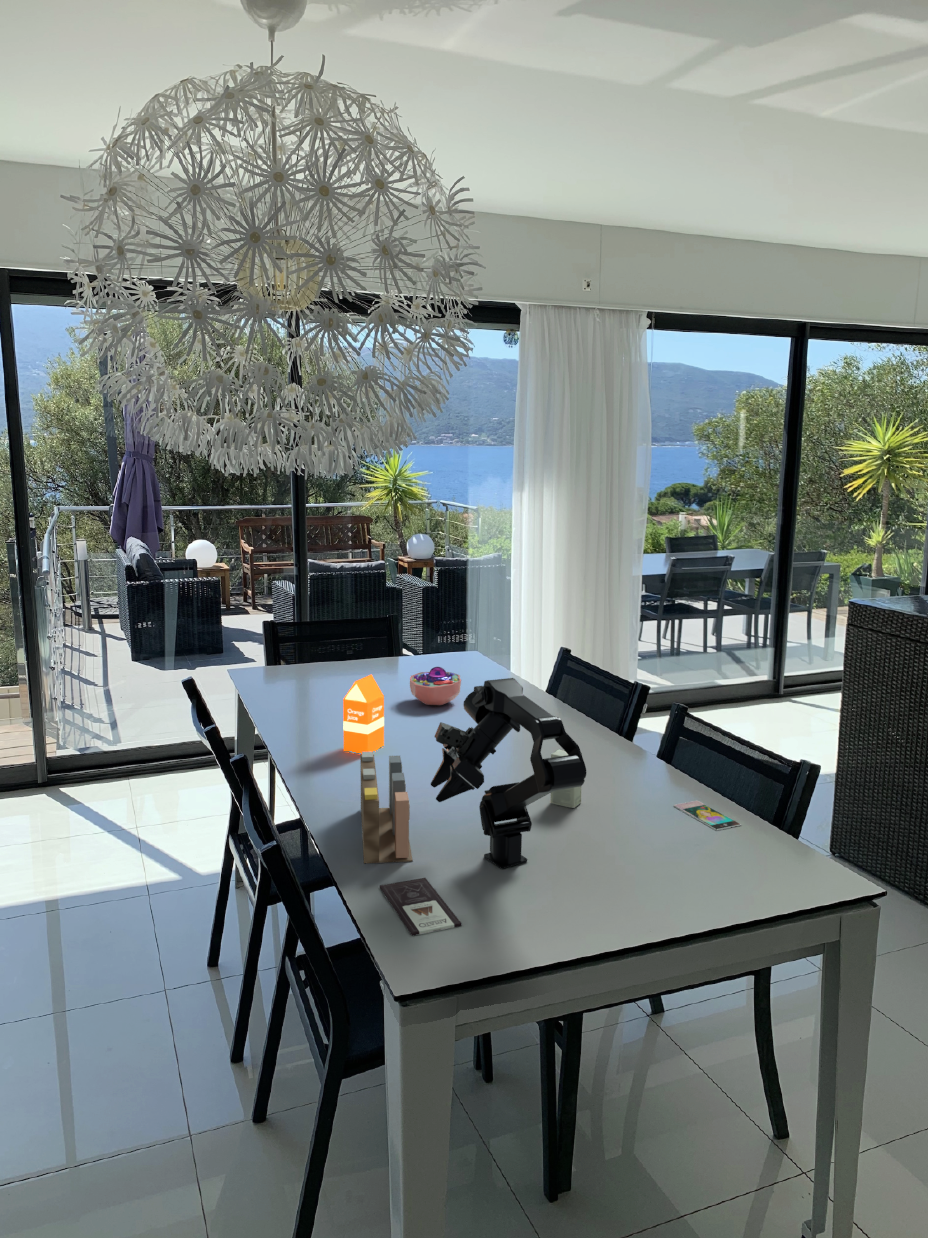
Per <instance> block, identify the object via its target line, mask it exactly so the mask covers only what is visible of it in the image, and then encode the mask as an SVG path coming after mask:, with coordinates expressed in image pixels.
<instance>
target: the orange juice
mask: <svg viewBox="0 0 928 1238" xmlns="http://www.w3.org/2000/svg"><path fill="white" fill-rule="evenodd" d="M342 701H343V702H342V703H343V705H342V709H343V710H342V711H343V712H342V713H343V716H342V717H343V719H342V720H343V722H342V723H343V725H342V726H343V729H342V731H343V752H344V751H352V752H356V753H361V754H362V752H370V751H375V752H377V751H378V749H379V748H380V747H382V746H384V747H385V695H384V694H383V692H382V690H381V688H380V687H379V685H378V683H377V681H376V680H375V678H374V676H373V674H368V675H367V676H364V677H362V678H359V679H357V680H355V681H354V682H353V684H352V685H351V687H350V689H348V691H347V693H346V695H344V697H343V699H342ZM382 748H383V747H382ZM376 750H377V751H376ZM379 750H380V749H379Z"/></svg>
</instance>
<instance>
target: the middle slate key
mask: <svg viewBox="0 0 928 1238" xmlns="http://www.w3.org/2000/svg"><path fill="white" fill-rule="evenodd" d="M406 785H407V783H406V777H405V773H404V772H402V773H392V832H393V835H395V792H407V789H406V787H407V786H406Z"/></svg>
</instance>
